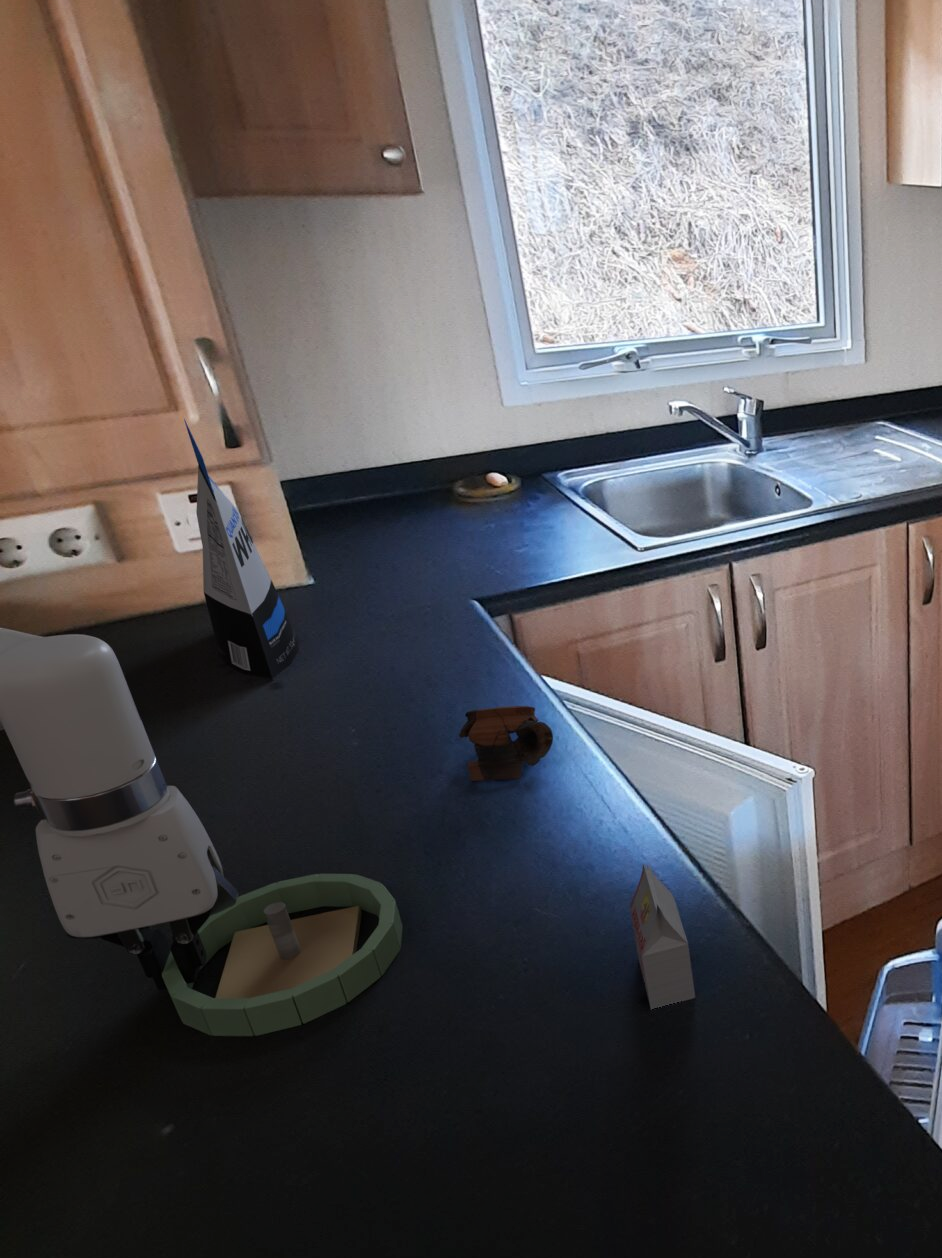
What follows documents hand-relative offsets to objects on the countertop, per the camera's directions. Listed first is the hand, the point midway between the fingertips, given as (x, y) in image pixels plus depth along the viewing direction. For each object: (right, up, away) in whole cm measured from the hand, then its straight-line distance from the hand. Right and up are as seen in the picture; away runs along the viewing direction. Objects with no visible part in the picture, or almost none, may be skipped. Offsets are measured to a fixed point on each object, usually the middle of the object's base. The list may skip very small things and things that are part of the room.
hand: (181, 974), depth 89 cm
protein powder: (-33, +29, +59) cm, 73 cm away
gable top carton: (+40, -1, +2) cm, 41 cm away
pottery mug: (+14, +15, +33) cm, 39 cm away
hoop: (+7, 0, +3) cm, 8 cm away
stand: (+7, 0, +3) cm, 8 cm away
